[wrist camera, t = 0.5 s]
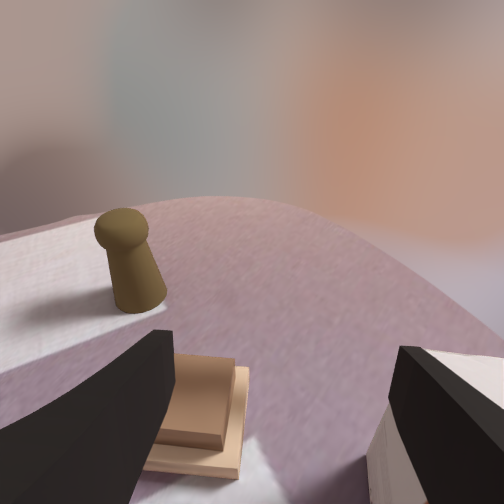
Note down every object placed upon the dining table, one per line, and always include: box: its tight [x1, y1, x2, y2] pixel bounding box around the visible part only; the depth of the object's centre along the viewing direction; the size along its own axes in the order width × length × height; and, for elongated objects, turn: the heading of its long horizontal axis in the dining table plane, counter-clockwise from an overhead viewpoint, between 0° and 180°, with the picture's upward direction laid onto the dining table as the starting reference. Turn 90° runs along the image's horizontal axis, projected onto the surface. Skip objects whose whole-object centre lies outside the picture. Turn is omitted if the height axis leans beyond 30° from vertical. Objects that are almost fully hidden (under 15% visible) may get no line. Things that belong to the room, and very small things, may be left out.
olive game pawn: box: [94, 208, 167, 314], centre depth 36 cm, size 6×6×11 cm
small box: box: [366, 349, 504, 504], centre depth 18 cm, size 8×6×13 cm
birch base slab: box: [142, 366, 249, 480], centre depth 27 cm, size 8×8×2 cm
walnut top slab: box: [154, 353, 236, 451], centre depth 25 cm, size 6×6×2 cm
